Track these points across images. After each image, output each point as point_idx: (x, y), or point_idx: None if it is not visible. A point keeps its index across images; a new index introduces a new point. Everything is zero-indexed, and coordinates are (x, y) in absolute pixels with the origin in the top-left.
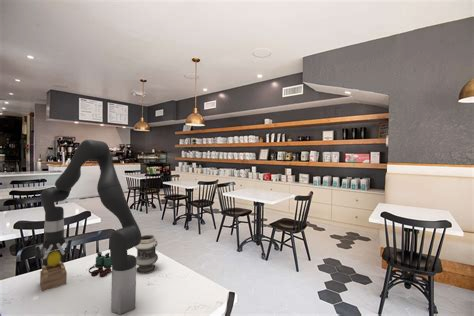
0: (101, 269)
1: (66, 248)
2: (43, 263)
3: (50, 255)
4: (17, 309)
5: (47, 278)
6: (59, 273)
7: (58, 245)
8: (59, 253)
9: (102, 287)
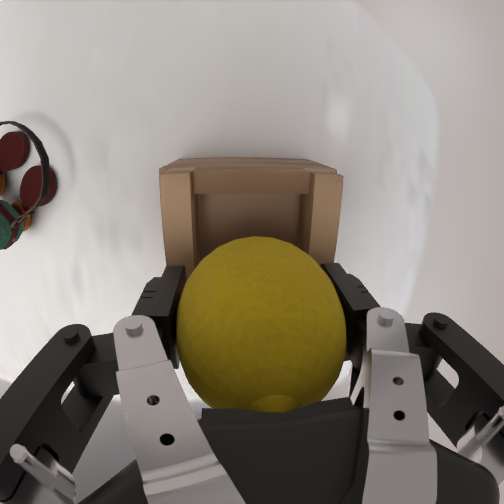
0: (12, 205)
1: (94, 404)
2: (359, 285)
3: (328, 328)
4: (405, 71)
5: (300, 167)
6: (214, 167)
7: (197, 497)
8: (189, 343)
9: (52, 22)
